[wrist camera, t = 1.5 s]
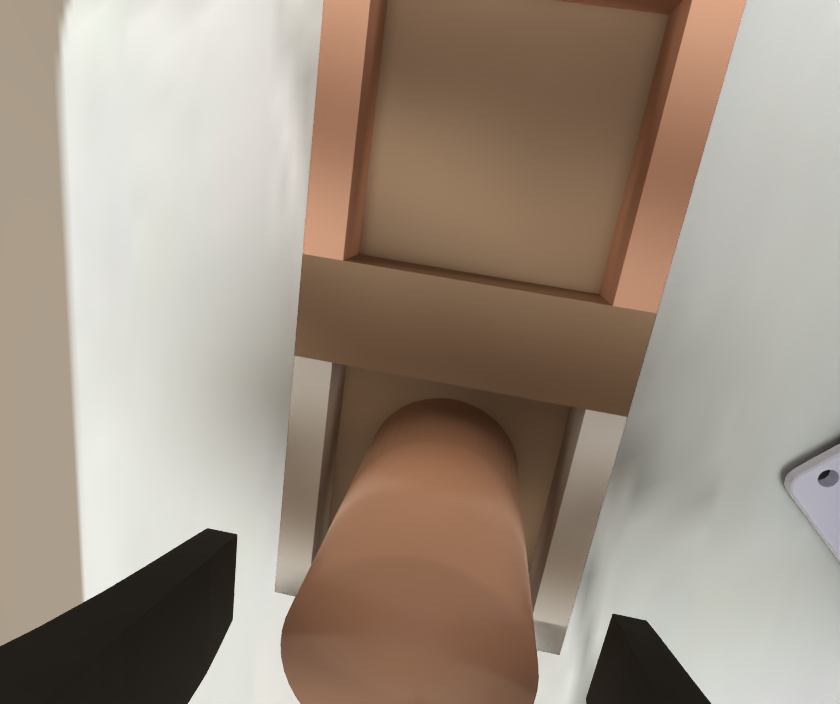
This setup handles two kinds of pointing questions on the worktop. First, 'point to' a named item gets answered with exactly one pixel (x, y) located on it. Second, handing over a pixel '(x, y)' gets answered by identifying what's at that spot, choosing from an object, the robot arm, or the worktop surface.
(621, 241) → the tray
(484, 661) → the tube
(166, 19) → the worktop surface
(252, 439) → the worktop surface
